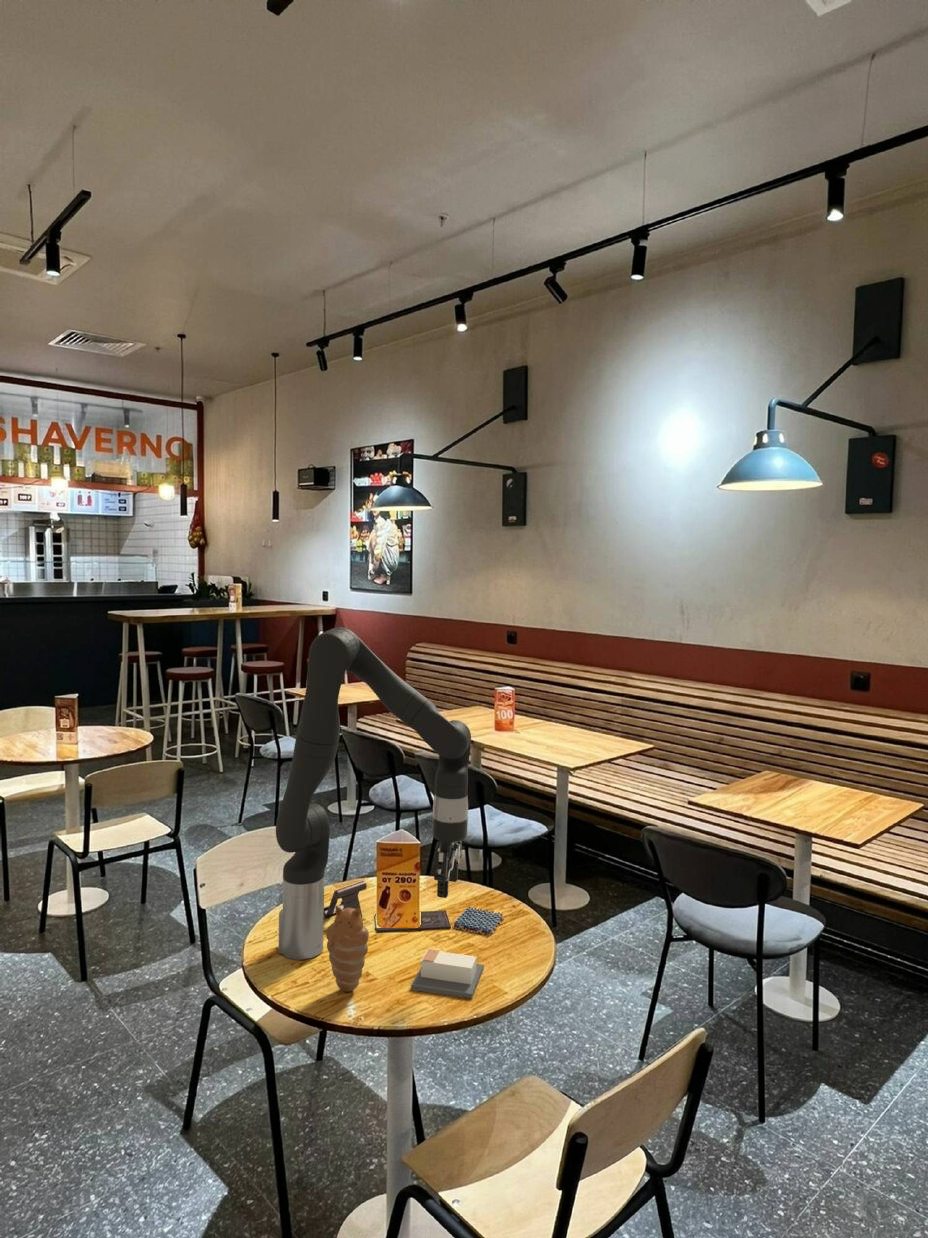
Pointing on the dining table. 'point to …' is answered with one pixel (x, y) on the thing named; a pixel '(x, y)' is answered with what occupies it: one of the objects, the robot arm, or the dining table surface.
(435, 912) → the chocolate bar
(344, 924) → the cat ice cream
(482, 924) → the woven mat
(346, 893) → the portable electronic device stand
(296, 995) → the dining table surface
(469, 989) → the rubber mat
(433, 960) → the block with tan end
